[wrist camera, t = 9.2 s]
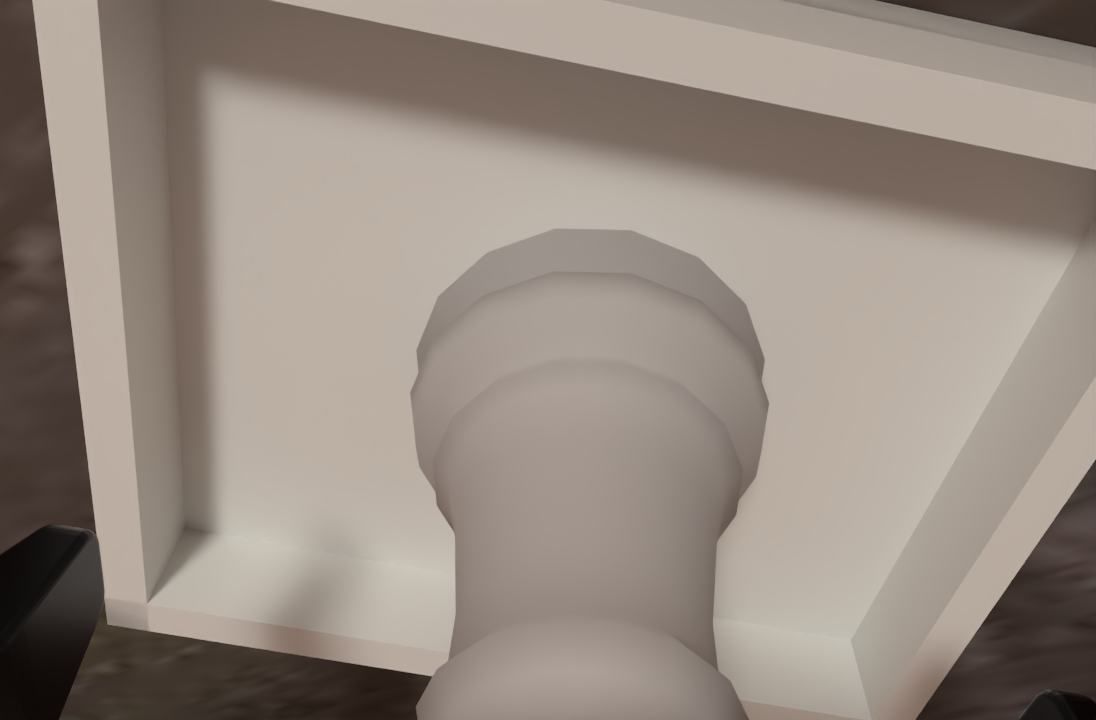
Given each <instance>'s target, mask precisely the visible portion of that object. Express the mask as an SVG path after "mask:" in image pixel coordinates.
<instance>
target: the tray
mask: <svg viewBox="0 0 1096 720" xmlns="http://www.w3.org/2000/svg"><path fill="white" fill-rule="evenodd" d="M32 1H33V9H34V17H35V25H36V34H37V42H38V50H39V59H40V67H41V75H42V84H43V92H44V100H45V108H46V117H47V125H48V133H49V142H50V150H51V158H52V167H53V175H54V183H55V192H56V200H57V208H58V216H59V225H60V233H61V241H62V250H63V258H64V266H65V275H66V283H67V291H68V300H69V308H70V316H71V324H72V333H73V341H74V349H75V358H76V366H77V374H78V383H79V391H80V399H81V408H82V416H83V424H84V432H85V441H86V449H87V457H88V466H89V474H90V482H91V491H92V499H93V507H94V516H95V524H96V532H97V537H98V541H99V546H100V554H101V563H102V571H103V579H104V588H105V595H104V599H105V607H106V615H107V623H108V625H114V626H121V627H127V628H133V629H139V630H146V631H152V632H158V633H164V634H171V635H177V636H183V637H190V638H196V639H202V640H208V641H215V642H221V643H227V644H233V645H240V646H246V647H252V648H259V649H265V650H271V651H277V652H284V653H290V654H296V655H302V656H309V657H315V658H321V659H327V660H334V661H340V662H346V663H353V664H359V665H365V666H371V667H378V668H384V669H390V670H396V671H403V672H409V673H415V674H421V675H428V676H433V675H434V673H435V671H436V670H437V669H438V668H439V667H440V666H442V665H443V664H445V663H446V662H447V661H448V658H449V652H450V646H451V640H452V634H453V627H454V621H455V615H456V598H455V534H454V532H453V530H452V528H451V527H450V525H449V524H448V522H447V521H446V519H445V518H444V516H443V514H442V513H441V511H440V510H439V508H438V507H437V503H436V492H435V491H434V489H433V488H432V486H431V485H430V483H429V481H428V480H427V478H426V477H425V475H424V474H423V472H422V470H421V469H420V467H419V462H418V456H417V450H416V443H415V433H414V424H413V414H412V405H411V395H410V392H411V390H412V387H413V385H414V382H415V380H416V378H417V375H418V363H417V353H416V350H417V347H418V345H419V342H420V340H421V337H422V335H423V332H424V330H425V328H426V325H427V323H428V320H429V318H430V315H431V313H432V310H433V308H434V305H435V303H436V300H437V298H438V296H439V295H440V294H441V293H442V292H443V291H445V290H446V289H447V288H448V287H449V286H450V285H451V284H452V283H453V282H455V281H456V280H457V279H458V278H459V277H460V276H461V275H462V274H464V273H465V272H466V271H467V270H468V269H469V268H470V267H471V266H472V265H474V264H475V263H476V262H477V261H478V260H479V259H480V258H481V257H482V256H484V255H485V254H486V253H487V252H490V251H493V250H495V249H498V248H501V247H504V246H507V245H510V244H513V243H515V242H518V241H521V240H524V239H527V238H530V237H533V236H535V235H538V234H541V233H544V232H547V231H550V230H552V229H601V230H632V231H634V232H637V233H639V234H642V235H644V236H647V237H649V238H652V239H654V240H657V241H659V242H662V243H664V244H667V245H669V246H672V247H674V248H677V249H679V250H682V251H684V252H687V253H689V254H692V255H694V256H697V257H699V258H700V259H701V260H702V261H703V262H704V263H705V264H706V265H707V266H708V267H709V268H710V269H711V270H712V271H713V272H714V273H715V274H716V275H717V276H718V277H719V278H720V279H721V280H722V281H723V282H724V283H725V284H726V285H727V286H728V287H729V288H730V289H731V290H732V291H733V292H734V293H735V294H736V295H737V296H738V297H739V298H740V299H741V300H742V301H743V302H744V303H745V304H746V306H747V309H748V312H749V315H750V318H751V320H752V323H753V326H754V329H755V332H756V335H757V338H758V341H759V344H760V347H761V349H762V352H763V355H764V358H765V362H764V369H763V375H762V384H763V386H764V389H765V392H766V395H767V398H768V401H769V408H768V414H767V420H766V426H765V432H764V437H763V443H762V449H761V455H760V461H759V465H758V470H757V474H756V478H755V479H754V481H753V482H752V483H751V485H750V486H749V488H748V489H747V490H746V492H745V493H744V494H743V496H742V497H741V498H740V500H739V501H738V507H737V514H736V516H735V518H734V519H733V520H732V522H731V523H730V524H729V526H728V527H727V529H726V530H725V531H724V533H723V534H722V535H721V537H720V538H719V539H718V541H717V551H716V571H715V591H714V611H713V630H714V638H715V647H716V655H717V664H718V671H719V672H720V673H721V674H723V675H724V676H725V677H726V678H728V679H729V680H730V681H731V683H732V685H733V687H734V689H735V691H736V693H737V695H738V698H739V700H740V702H741V704H742V706H743V708H744V710H745V712H746V714H747V716H748V718H749V720H916V718H917V717H918V715H919V714H920V712H921V711H922V709H923V708H924V707H925V705H926V704H927V702H928V701H929V699H930V698H931V696H932V695H933V694H934V692H935V691H936V689H937V688H938V686H939V685H940V683H941V682H942V681H943V679H944V678H945V676H946V675H947V673H948V672H949V670H950V669H951V668H952V666H953V665H954V663H955V662H956V660H957V659H958V657H959V656H960V655H961V653H962V652H963V650H964V649H965V647H966V646H967V644H968V643H969V642H970V640H971V639H972V637H973V636H974V634H975V633H976V631H977V630H978V629H979V627H980V626H981V624H982V623H983V621H984V620H985V618H986V617H987V616H988V614H989V613H990V611H991V610H992V608H993V607H994V605H995V604H996V603H997V601H998V600H999V598H1000V597H1001V595H1002V594H1003V592H1004V591H1005V590H1006V588H1007V587H1008V585H1009V584H1010V582H1011V581H1012V579H1013V578H1014V577H1015V575H1016V574H1017V572H1018V571H1019V569H1020V568H1021V566H1022V565H1023V564H1024V562H1025V561H1026V559H1027V558H1028V556H1029V555H1030V553H1031V552H1032V551H1033V549H1034V548H1035V546H1036V545H1037V543H1038V542H1039V540H1040V539H1041V538H1042V536H1043V535H1044V533H1045V532H1046V530H1047V529H1048V527H1049V526H1050V525H1051V523H1052V522H1053V520H1054V519H1055V517H1056V516H1057V514H1058V513H1059V512H1060V510H1061V509H1062V507H1063V506H1064V504H1065V503H1066V501H1067V500H1068V499H1069V497H1070V496H1071V494H1072V493H1073V491H1074V490H1075V488H1076V487H1077V486H1078V484H1079V483H1080V481H1081V480H1082V478H1083V477H1084V475H1085V474H1086V473H1087V471H1088V470H1089V468H1090V467H1091V465H1092V464H1093V462H1094V461H1095V460H1096V48H1094V47H1090V46H1085V45H1081V44H1076V43H1071V42H1067V41H1062V40H1057V39H1053V38H1048V37H1043V36H1039V35H1034V34H1029V33H1025V32H1020V31H1015V30H1011V29H1006V28H1001V27H997V26H992V25H987V24H983V23H978V22H973V21H969V20H964V19H959V18H955V17H950V16H945V15H941V14H936V13H931V12H927V11H922V10H917V9H913V8H908V7H903V6H899V5H894V4H889V3H885V2H880V1H875V0H32Z"/></svg>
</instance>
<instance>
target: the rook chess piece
mask: <svg viewBox="0 0 1096 720" xmlns="http://www.w3.org/2000/svg"><path fill="white" fill-rule="evenodd" d="M416 353H417V363H418V375H417V378H416V380H415V382H414V385H413V387H412V390H411V392H410V395H411V405H412V414H413V424H414V433H415V443H416V450H417V456H418V462H419V467H420V469H421V470H422V472H423V474H424V475H425V477H426V478H427V480H428V481H429V483H430V485H431V486H432V488H433V489H434V491H435V492H436V503H437V507H438V508H439V510H440V511H441V513H442V514H443V516H444V518H445V519H446V521H447V522H448V524H449V525H450V527H451V528H452V530H453V532H454V534H455V598H456V615H455V621H454V627H453V634H452V640H451V646H450V652H449V658H448V661H447V662H446V663H445V664H443V665H442V666H440V667H439V668H438V669H437V670H436V671H435V673H434V675H433V677H432V679H431V680H430V682H429V684H428V686H427V688H426V689H425V691H424V693H423V695H422V697H421V698H420V700H419V702H418V704H417V706H416V712H417V719H418V720H749V718H748V716H747V714H746V712H745V710H744V708H743V706H742V704H741V702H740V700H739V698H738V695H737V693H736V691H735V689H734V687H733V685H732V683H731V681H730V680H729V679H728V678H726V677H725V676H724V675H723V674H721V673H720V672H719V671H718V664H717V655H716V647H715V638H714V630H713V611H714V591H715V571H716V551H717V541H718V539H719V538H720V537H721V535H722V534H723V533H724V531H725V530H726V529H727V527H728V526H729V524H730V523H731V522H732V520H733V519H734V518H735V516H736V514H737V507H738V501H739V500H740V498H741V497H742V496H743V494H744V493H745V492H746V490H747V489H748V488H749V486H750V485H751V483H752V482H753V481H754V479H755V478H756V474H757V470H758V465H759V461H760V455H761V449H762V443H763V437H764V432H765V426H766V420H767V414H768V408H769V401H768V398H767V395H766V392H765V389H764V386H763V384H762V375H763V369H764V362H765V358H764V355H763V352H762V349H761V347H760V344H759V341H758V338H757V335H756V332H755V329H754V326H753V323H752V320H751V318H750V315H749V312H748V309H747V306H746V304H745V303H744V302H743V301H742V300H741V299H740V298H739V297H738V296H737V295H736V294H735V293H734V292H733V291H732V290H731V289H730V288H729V287H728V286H727V285H726V284H725V283H724V282H723V281H722V280H721V279H720V278H719V277H718V276H717V275H716V274H715V273H714V272H713V271H712V270H711V269H710V268H709V267H708V266H707V265H706V264H705V263H704V262H703V261H702V260H701V259H700V258H699V257H697V256H694V255H692V254H689V253H687V252H684V251H682V250H679V249H677V248H674V247H672V246H669V245H667V244H664V243H662V242H659V241H657V240H654V239H652V238H649V237H647V236H644V235H642V234H639V233H637V232H634V231H632V230H601V229H552V230H550V231H547V232H544V233H541V234H538V235H535V236H533V237H530V238H527V239H524V240H521V241H518V242H515V243H513V244H510V245H507V246H504V247H501V248H498V249H495V250H493V251H490V252H487V253H486V254H485V255H484V256H482V257H481V258H480V259H479V260H478V261H477V262H476V263H475V264H474V265H472V266H471V267H470V268H469V269H468V270H467V271H466V272H465V273H464V274H462V275H461V276H460V277H459V278H458V279H457V280H456V281H455V282H453V283H452V284H451V285H450V286H449V287H448V288H447V289H446V290H445V291H443V292H442V293H441V294H440V295H439V296H438V298H437V300H436V303H435V305H434V308H433V310H432V313H431V315H430V318H429V320H428V323H427V325H426V328H425V330H424V332H423V335H422V337H421V340H420V342H419V345H418V347H417V350H416Z"/></svg>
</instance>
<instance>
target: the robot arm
mask: <svg viewBox="0 0 1096 720" xmlns="http://www.w3.org/2000/svg"><path fill="white" fill-rule="evenodd" d="M104 595H105V588H104V579H103V571H102V563H101V554H100V546H99V541H98V537H97V536H96V534H95V533H94V532H93V531H91V530H88V529H82V528H76V527H70V526H64V525H58V524H51V525H47V526H45V527H42V528H40V529H38V530H37V531H35V532H34V533H32V534H31V535H29V536H28V537H26V538H25V539H23V540H22V541H20V542H19V543H17V544H16V545H14V546H13V547H11V548H10V549H8V550H7V551H5V552H4V553H2V554H0V720H59V718H60V715H61V713H62V710H63V708H64V705H65V703H66V700H67V698H68V695H69V693H70V690H71V687H72V685H73V682H74V680H75V677H76V675H77V672H78V670H79V667H80V665H81V662H82V660H83V657H84V655H85V652H86V650H87V647H88V645H89V642H90V640H91V637H92V635H93V632H94V630H95V627H96V625H97V622H98V620H99V617H100V614H101V611H102V607H103V602H104ZM1017 720H1096V703H1095V702H1094V701H1093V700H1092V699H1090V698H1088V697H1086V696H1084V695H1080V694H1075V693H1069V692H1063V691H1057V690H1045V691H1043V692H1041V693H1039V694H1038V695H1037V696H1036V697H1035V698H1034V699H1033V701H1032V702H1031V703H1030V704H1029V706H1028V707H1027V708H1026V709H1025V711H1024V712H1023V713H1022V714H1021V716H1020V717H1019V718H1018V719H1017Z"/></svg>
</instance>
